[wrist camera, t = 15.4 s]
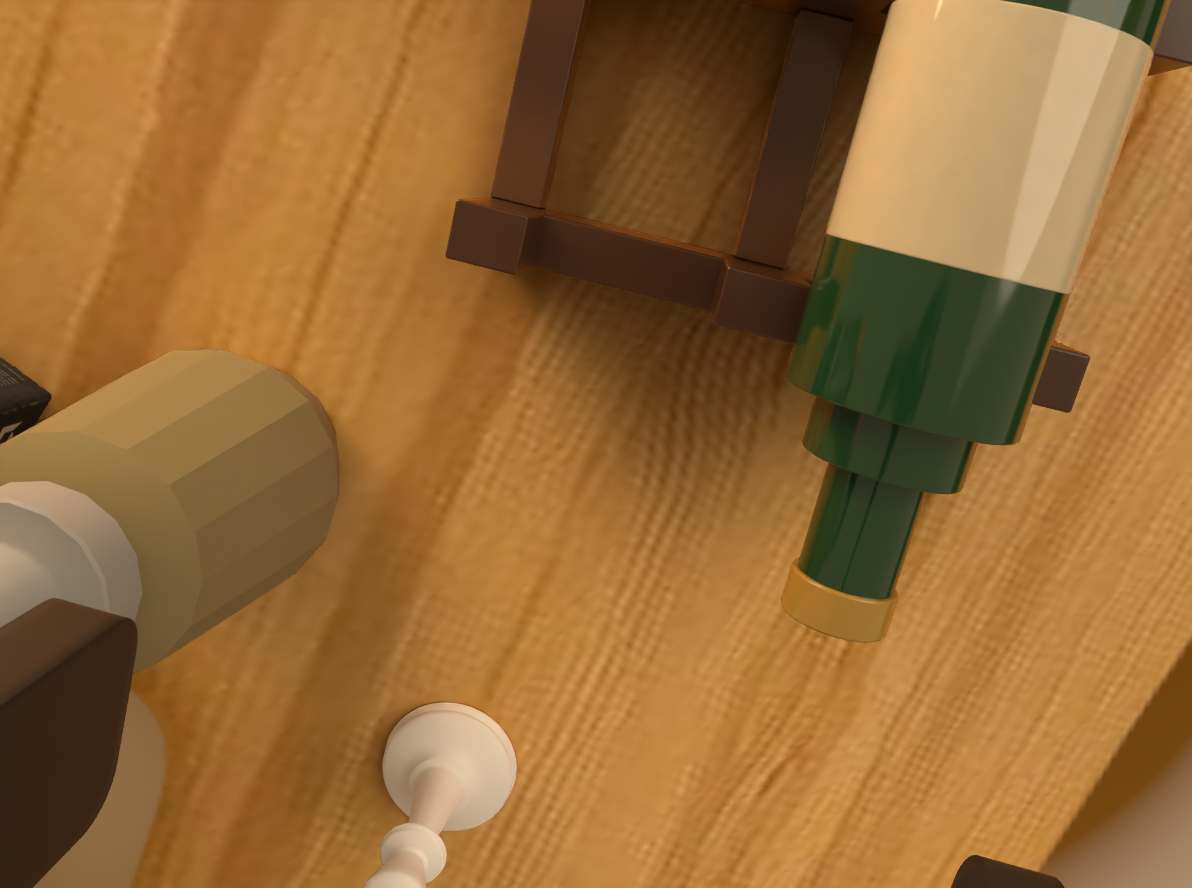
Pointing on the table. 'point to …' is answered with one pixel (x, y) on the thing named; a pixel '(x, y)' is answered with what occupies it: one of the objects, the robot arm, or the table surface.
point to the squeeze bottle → (168, 496)
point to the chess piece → (440, 786)
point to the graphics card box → (18, 402)
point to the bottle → (950, 266)
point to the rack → (758, 265)
